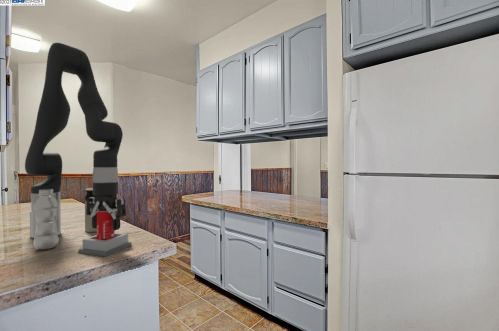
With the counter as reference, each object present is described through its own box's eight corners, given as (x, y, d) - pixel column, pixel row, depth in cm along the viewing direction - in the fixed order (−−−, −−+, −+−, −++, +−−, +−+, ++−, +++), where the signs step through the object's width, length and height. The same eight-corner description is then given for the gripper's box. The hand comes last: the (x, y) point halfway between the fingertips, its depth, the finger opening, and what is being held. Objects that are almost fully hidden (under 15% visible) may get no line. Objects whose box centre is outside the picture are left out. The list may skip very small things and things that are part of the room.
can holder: (78, 252, 82) (78, 239, 82) (106, 242, 93) (106, 231, 92) (105, 256, 79) (105, 242, 79) (131, 245, 89) (131, 233, 89)
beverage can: (106, 248, 83) (106, 211, 82) (93, 247, 84) (93, 210, 84) (117, 243, 88) (118, 208, 88) (104, 242, 89) (105, 208, 89)
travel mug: (102, 232, 107) (102, 189, 106) (81, 233, 105) (81, 189, 105) (109, 227, 114) (108, 187, 114) (89, 228, 113) (89, 187, 113)
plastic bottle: (37, 247, 88) (37, 189, 87) (61, 244, 90) (60, 188, 90) (30, 253, 82) (29, 191, 81) (55, 250, 84) (55, 190, 84)
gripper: (79, 181, 84) (79, 230, 84) (113, 182, 80) (114, 233, 80) (98, 179, 91) (98, 224, 91) (131, 180, 87) (131, 227, 87)
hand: (106, 228), depth 86 cm, fingers open, 8 cm apart
